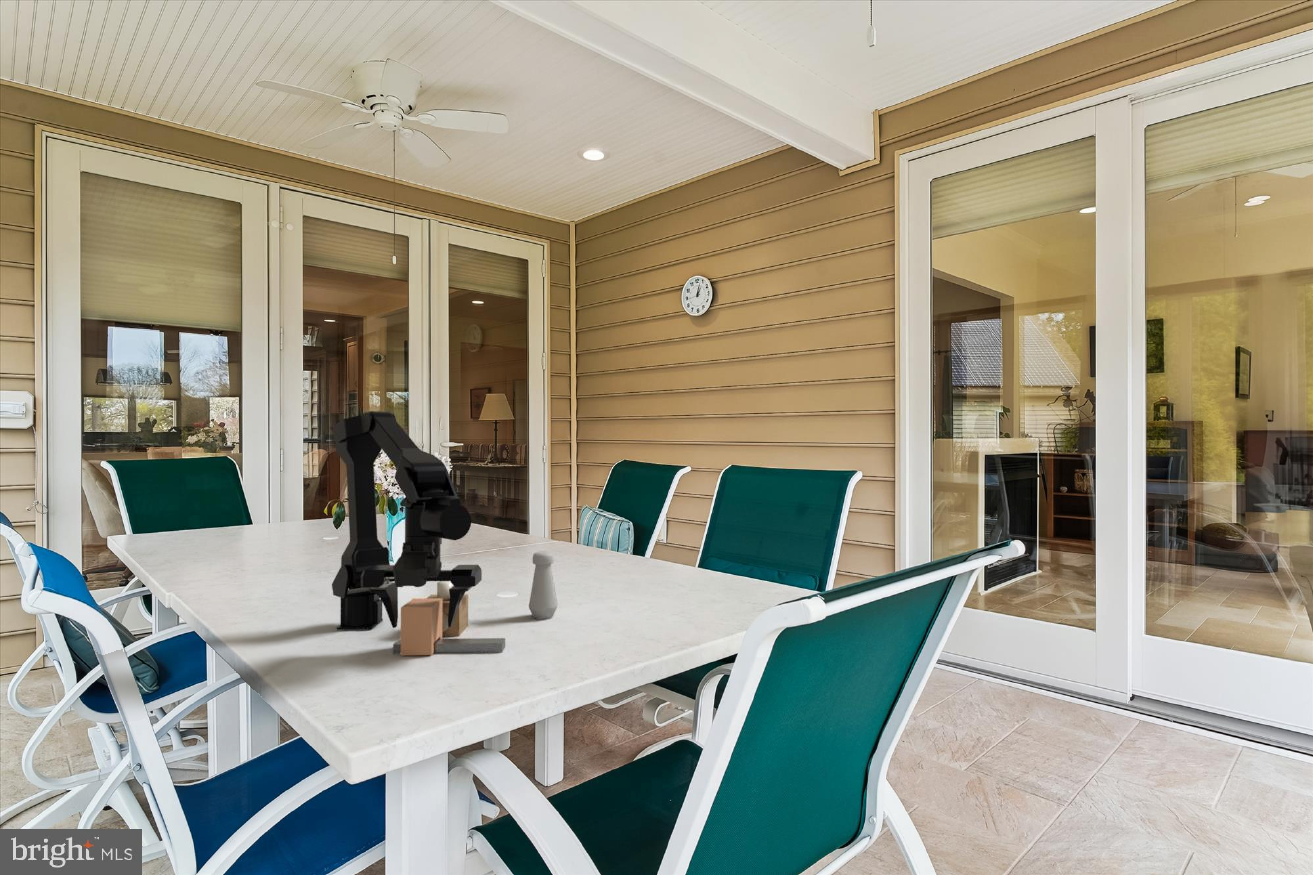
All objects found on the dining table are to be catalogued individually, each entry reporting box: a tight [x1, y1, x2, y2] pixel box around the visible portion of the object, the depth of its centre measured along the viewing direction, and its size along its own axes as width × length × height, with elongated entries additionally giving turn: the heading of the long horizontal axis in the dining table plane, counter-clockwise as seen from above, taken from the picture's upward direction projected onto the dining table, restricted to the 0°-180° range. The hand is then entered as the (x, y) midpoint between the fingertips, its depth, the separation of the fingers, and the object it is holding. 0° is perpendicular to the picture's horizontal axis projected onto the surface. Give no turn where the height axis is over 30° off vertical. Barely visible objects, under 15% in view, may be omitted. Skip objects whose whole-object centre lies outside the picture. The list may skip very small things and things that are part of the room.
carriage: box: [400, 597, 443, 656], centre depth 117 cm, size 5×7×8 cm
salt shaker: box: [528, 550, 559, 620], centre depth 140 cm, size 6×6×13 cm
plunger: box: [436, 581, 454, 600], centre depth 129 cm, size 3×3×3 cm
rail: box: [392, 637, 506, 654], centre depth 117 cm, size 18×3×2 cm, turn 92°
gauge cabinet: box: [427, 593, 469, 637], centre depth 129 cm, size 7×7×6 cm
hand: (422, 627), depth 117 cm, fingers open, 9 cm apart
